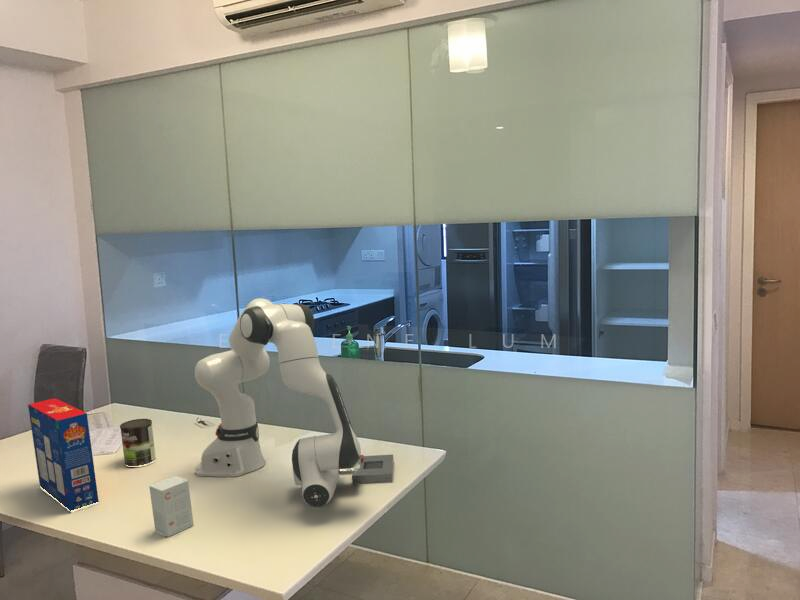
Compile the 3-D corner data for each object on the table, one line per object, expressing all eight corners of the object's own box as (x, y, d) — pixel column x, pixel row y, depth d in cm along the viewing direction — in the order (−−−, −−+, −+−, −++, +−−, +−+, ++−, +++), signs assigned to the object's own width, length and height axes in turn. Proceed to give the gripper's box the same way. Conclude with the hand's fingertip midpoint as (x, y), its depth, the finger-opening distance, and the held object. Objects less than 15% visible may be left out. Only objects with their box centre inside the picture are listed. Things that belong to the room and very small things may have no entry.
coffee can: (141, 469, 228) (136, 428, 226) (118, 466, 232) (112, 427, 230) (162, 458, 237) (158, 419, 235) (139, 455, 241) (135, 417, 239)
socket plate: (352, 484, 204) (351, 473, 203) (356, 463, 220) (356, 454, 219) (392, 481, 203) (391, 471, 203) (393, 461, 219) (393, 452, 219)
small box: (181, 519, 187) (175, 475, 186) (194, 525, 183) (188, 479, 181) (154, 531, 181) (148, 485, 179) (167, 538, 177) (161, 490, 175)
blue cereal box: (98, 503, 202) (86, 413, 198) (70, 513, 197) (57, 420, 193) (66, 480, 222) (55, 398, 218) (40, 489, 217) (27, 404, 213)
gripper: (358, 460, 194) (362, 443, 208) (288, 464, 195) (296, 447, 209) (360, 481, 195) (363, 463, 209) (289, 485, 196) (297, 467, 210)
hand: (329, 455), depth 209 cm, fingers closed on plug, 4 cm apart
